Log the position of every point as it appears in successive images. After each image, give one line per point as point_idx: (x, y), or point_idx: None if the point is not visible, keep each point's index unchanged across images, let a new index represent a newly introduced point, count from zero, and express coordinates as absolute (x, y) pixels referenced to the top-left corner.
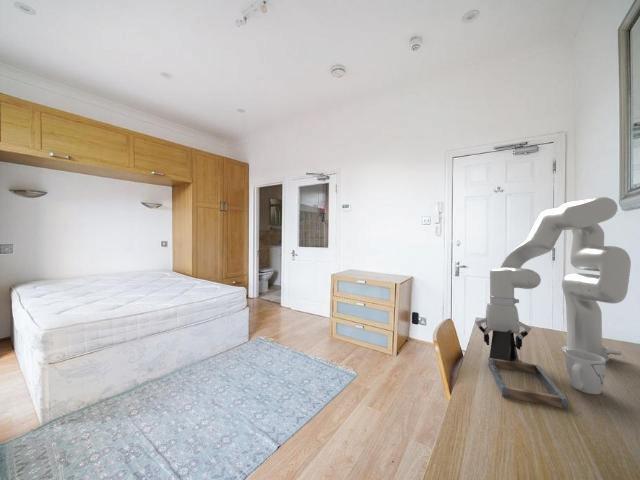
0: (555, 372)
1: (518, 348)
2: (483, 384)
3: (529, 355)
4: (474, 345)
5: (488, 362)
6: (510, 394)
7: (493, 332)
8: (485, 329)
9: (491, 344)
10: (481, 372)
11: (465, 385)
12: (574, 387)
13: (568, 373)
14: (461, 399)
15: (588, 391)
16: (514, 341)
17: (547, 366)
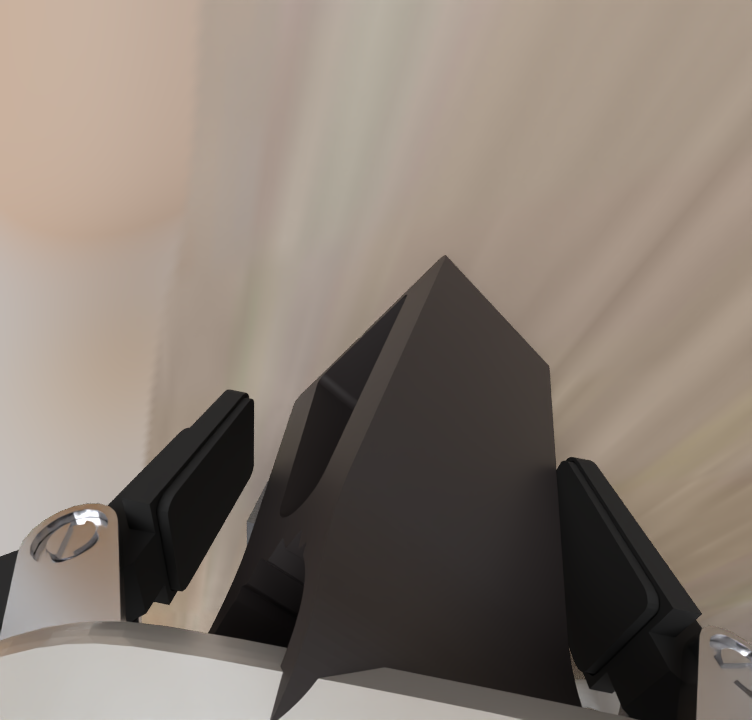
0: (650, 528)
1: None
2: (213, 615)
3: (746, 262)
4: (212, 43)
5: (261, 496)
6: None
7: (242, 599)
8: (52, 602)
9: (279, 458)
10: (217, 549)
11: (152, 619)
12: None
13: (614, 700)
14: None
15: None
16: (550, 563)
17: (683, 464)
